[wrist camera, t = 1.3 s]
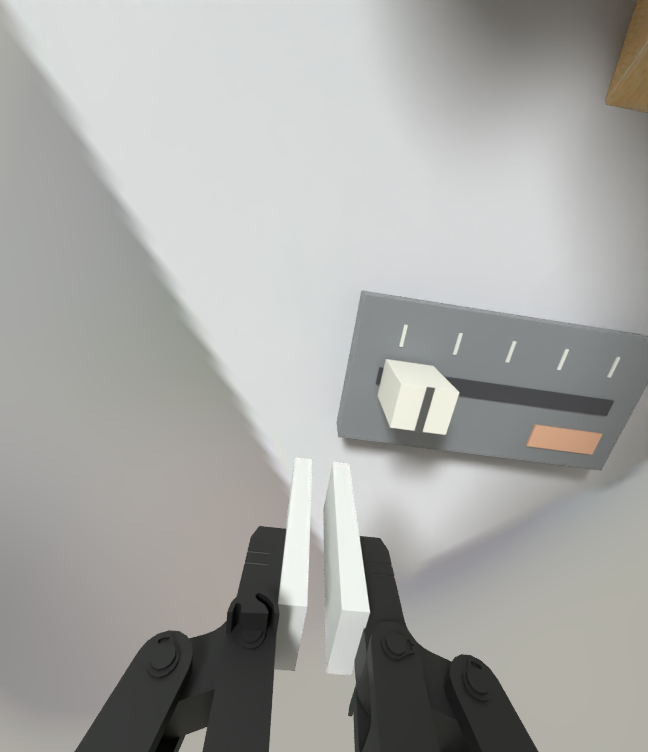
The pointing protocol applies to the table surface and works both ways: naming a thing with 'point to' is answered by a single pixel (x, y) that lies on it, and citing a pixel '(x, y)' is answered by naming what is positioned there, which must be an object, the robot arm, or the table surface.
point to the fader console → (498, 380)
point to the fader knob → (416, 397)
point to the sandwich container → (632, 65)
